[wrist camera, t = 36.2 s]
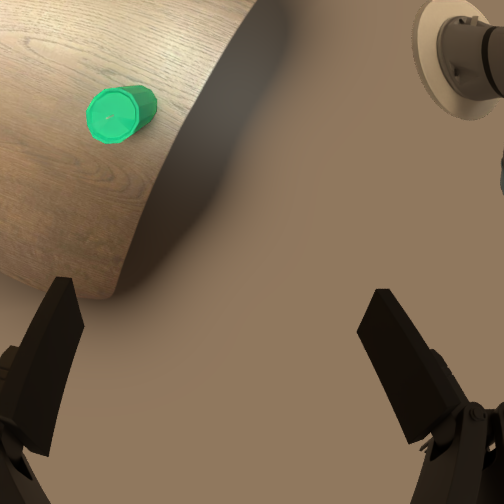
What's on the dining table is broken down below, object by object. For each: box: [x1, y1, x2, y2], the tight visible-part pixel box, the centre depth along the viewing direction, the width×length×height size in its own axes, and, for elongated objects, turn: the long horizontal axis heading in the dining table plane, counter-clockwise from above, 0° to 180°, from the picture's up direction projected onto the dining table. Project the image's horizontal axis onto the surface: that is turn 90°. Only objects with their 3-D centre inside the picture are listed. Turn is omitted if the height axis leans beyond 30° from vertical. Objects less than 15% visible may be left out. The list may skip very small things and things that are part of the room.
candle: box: [86, 85, 157, 144], centre depth 30 cm, size 6×6×12 cm
